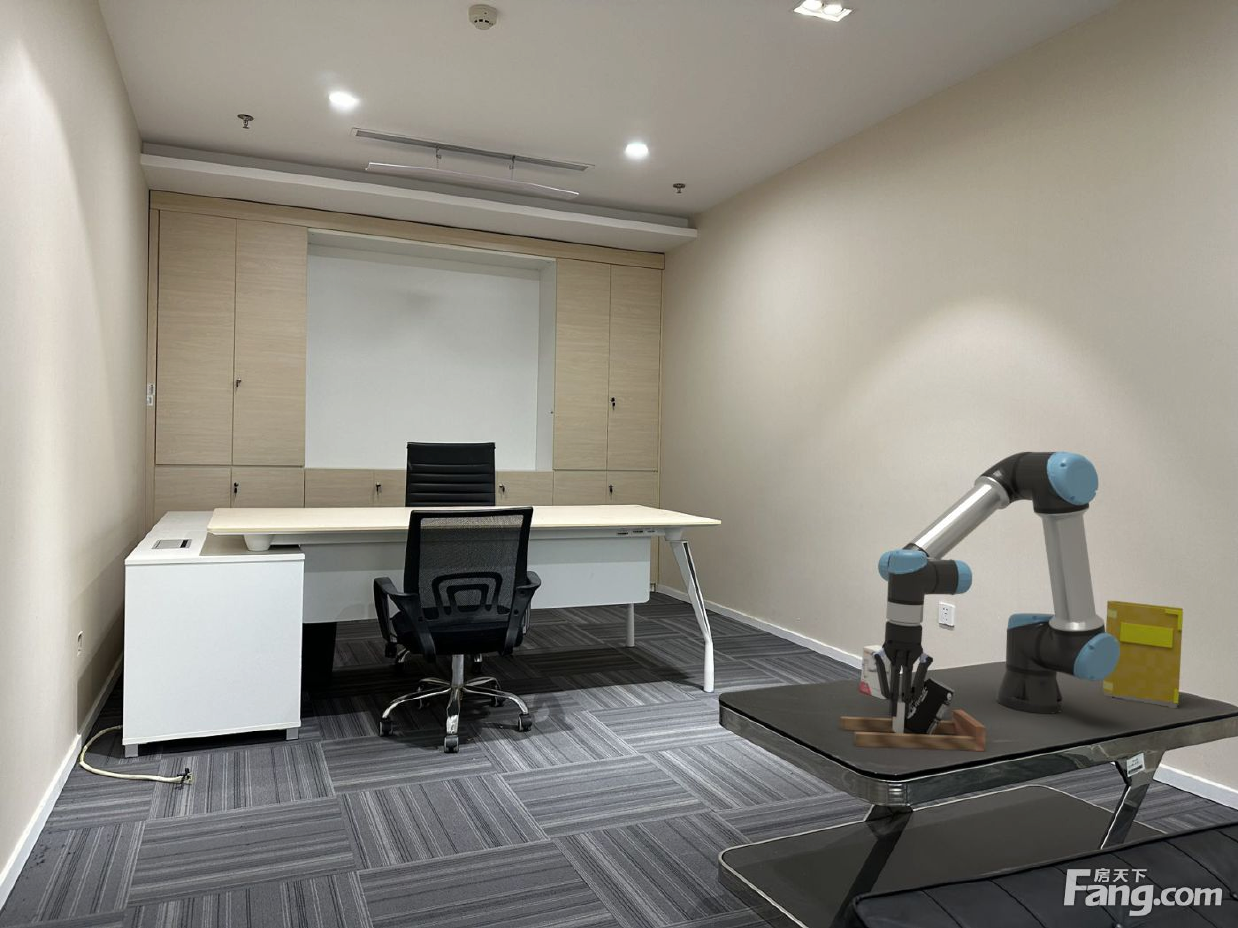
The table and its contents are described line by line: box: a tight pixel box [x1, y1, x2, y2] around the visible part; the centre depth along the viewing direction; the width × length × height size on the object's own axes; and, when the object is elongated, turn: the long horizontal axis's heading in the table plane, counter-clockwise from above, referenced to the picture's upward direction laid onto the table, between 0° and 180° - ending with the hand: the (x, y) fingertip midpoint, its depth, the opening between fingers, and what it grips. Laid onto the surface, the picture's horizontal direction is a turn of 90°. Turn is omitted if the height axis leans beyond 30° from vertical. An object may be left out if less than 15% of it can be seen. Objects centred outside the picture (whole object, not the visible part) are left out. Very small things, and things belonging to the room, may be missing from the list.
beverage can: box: [904, 676, 955, 735], centre depth 184 cm, size 7×7×12 cm
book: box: [1102, 600, 1184, 704], centre depth 226 cm, size 17×7×25 cm, turn 58°
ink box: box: [860, 644, 891, 700], centre depth 219 cm, size 9×5×12 cm, turn 27°
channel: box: [839, 709, 987, 752], centre depth 184 cm, size 27×12×5 cm, turn 91°
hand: (897, 731), depth 184 cm, fingers closed
